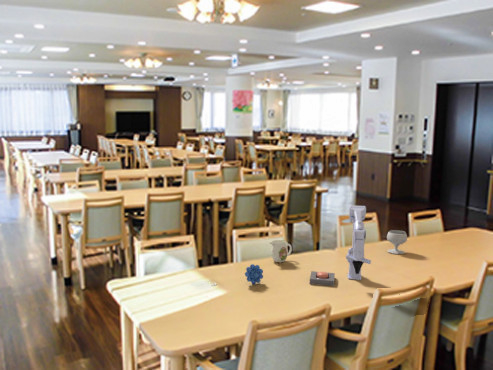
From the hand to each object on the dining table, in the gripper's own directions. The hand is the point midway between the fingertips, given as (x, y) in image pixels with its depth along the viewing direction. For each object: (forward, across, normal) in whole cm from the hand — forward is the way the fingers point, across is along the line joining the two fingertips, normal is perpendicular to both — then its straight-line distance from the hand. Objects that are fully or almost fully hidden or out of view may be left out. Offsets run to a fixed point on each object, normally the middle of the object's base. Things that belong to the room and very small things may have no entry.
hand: (357, 273), depth 271 cm
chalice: (+9, -10, +85) cm, 86 cm away
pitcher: (+9, -60, +10) cm, 62 cm away
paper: (+9, -62, -56) cm, 84 cm away
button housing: (+8, -20, -4) cm, 22 cm away
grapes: (+8, -47, -36) cm, 59 cm away
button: (+6, -20, -4) cm, 21 cm away
